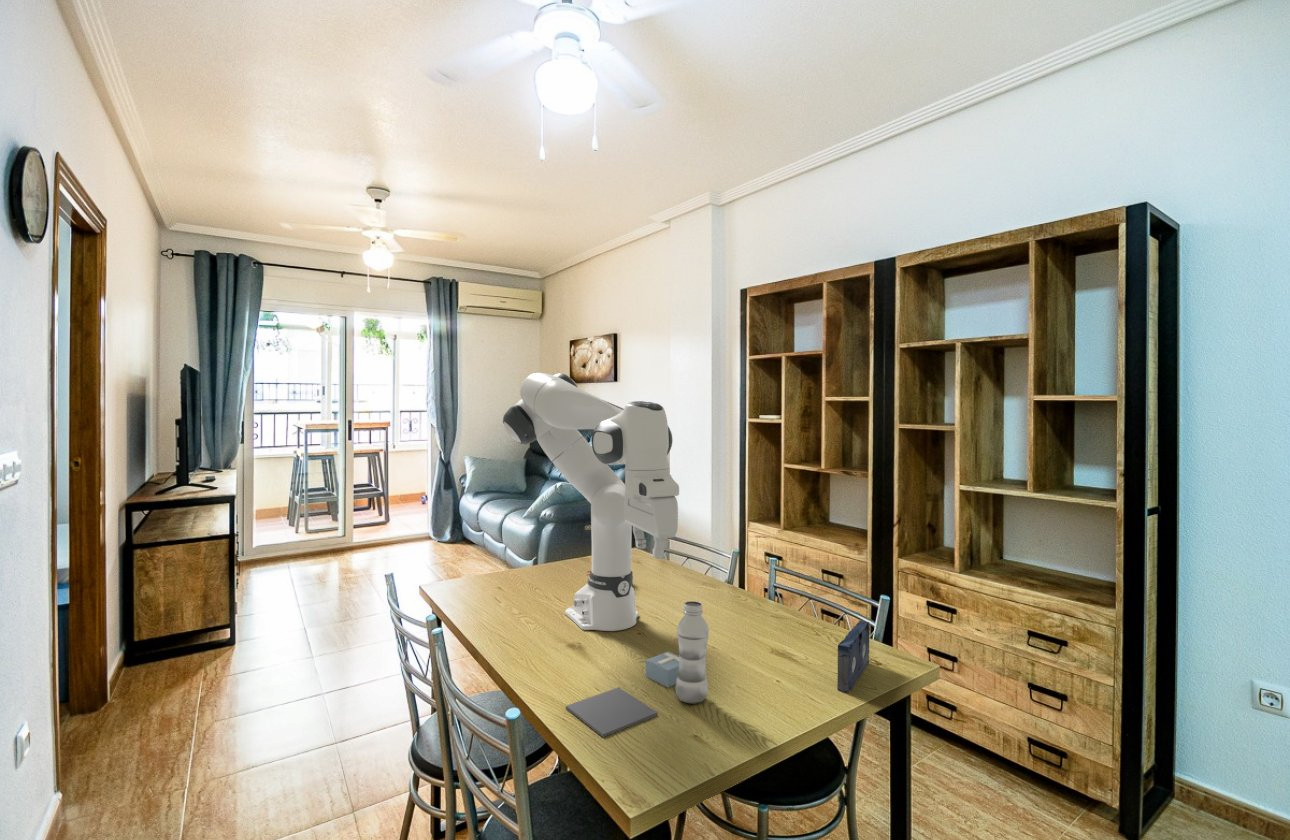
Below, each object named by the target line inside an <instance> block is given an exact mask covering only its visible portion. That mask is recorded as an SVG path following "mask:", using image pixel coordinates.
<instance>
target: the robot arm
mask: <svg viewBox="0 0 1290 840" xmlns="http://www.w3.org/2000/svg"><path fill="white" fill-rule="evenodd" d="M519 392H520V393H519V394H520V399H519V400H518V401H517V402H516V403H515V404H514V405H513V406H511V407H509V408H508V409H507V411H506V412H505V413H504V415H503V418H502V423H503V426H504V429H505V431H506V433H507V434H508V436H509V437H510V438H511V439H512V440H514V441H515V442H518V443H519V444H521V445H526V446H527V445H529V444H530V443H533V442H535V441H537V442H538V444H539V446H540V447H541V449H542V450H543V452H544V454H545V455H546V456H547V457H548V459H549V460H550V461H551V462H552V464H553V465H554V466H555V467H556V469H557V470H558V471H559V472H560V474H562V476H563V477H564V479H565V480H566V481H567V482H568V483H569V484H570V485H571V486H573V488H575V489H576V490H577V491H578V493H580V494H581V495H582V496H583V497H584V498H585V499H586V500H587V502H589V504H590V526H591V527H590V528H591V531H590V532H591V570H589V571H588V570H587V571H586V573H587V574H586V576H588V579H587V582H586V584H585V585H583V586H582V587H581V588H579V589H578V590H577V591H576V592H575V593H574V596H573V605H572V606H570V607H568V608H566V609H565V610H564V611H565V612H564V613H565V615H566V616H567V617H568V618H569V619H571V621H572V622H574V623H575V625H576V626H578V627H579V628H580V629H581V630H584V631H590V630H591V631H593V630H595V631H605V632H616V631H622V630H627V629H629V628H632V627H634V626H636V624H637V619H638V617H639V616H640V615H639V611H637V608H636V607H637V606H636V594H635V589H634V587H633V585H634V584H633V583H634V582H633V581H634V580H633V579H634V575H633V571H632V539H633V537H632V533H633V535H634V539H635V547H636V548H637V549H639V550H644V549H647V540H646V538H645V533H646V534H649V535H651V536H653V542H654V544H653V545H654V546H653V548H652V557H653V558H655V559H656V560H661V559H664V557H665V548H666V545H667V544H666V543H667V539H671V538H675V537H676V536H677V535H676V534H677V532H678V527H679V526H678V525H679V523H678V522H679V507H678V506H679V504H678V500H677V497H678V496H679V495H680V486H679V484H678V483H677V482H676V481H675V479H674V478H673V477H672V475H671V474H670V463H669V460H668V459H669V458H668V455H669V454H670V451H671V450H672V446H673V433H672V431H671V428H670V426H669V424H668V417H667V413H666V410H665V408H664V406H662V405H661V404H658V403H655V402H651V401H643V400H642V401H640V400H639V401H631V402H628V403H627V404H626V405H625V407H624V408H623V407H621V406H618V405H616V404H613V403H611V402H609V401H606V400H604V399H601V398H600V397H598V396H596V395H593V394H591V393H590V392H587V391H585V390H583V389H581V388H580V387H578V385H577V383H576V382H575V381H574V380H573V379H572V378H571V377H570V376H568V375H567V374H566V373H562V372H559V373H555V374H550V373H545V372H534V373H531V374H530V375H528V376H526V377H525V379H524V380H523V381H522V383H521V386H520V391H519ZM579 430H593V432H592V434H591V444H590V442H588V440H587V439H586V438H585V437H584V436H583V435H582V433H581V432H580V431H579ZM609 465H610V466H616V465H624V480H625V481H624V482H625V483H624V482H623V480H622V479H621V478H620V477H619V476H618V474H617V473H615V471H614V470H613V469H612V468H611V467H610V466H609ZM632 584H633V585H632Z"/></svg>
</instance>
